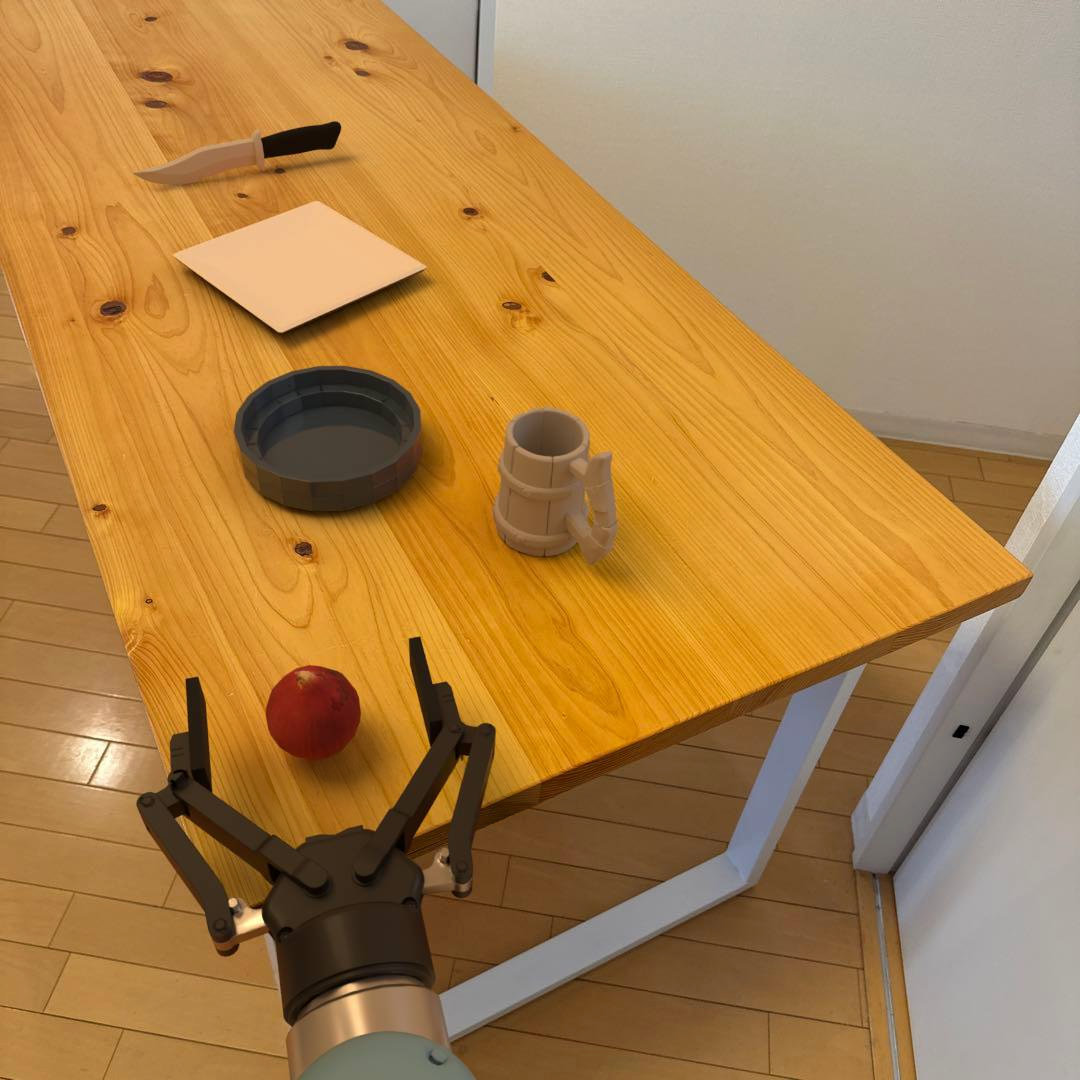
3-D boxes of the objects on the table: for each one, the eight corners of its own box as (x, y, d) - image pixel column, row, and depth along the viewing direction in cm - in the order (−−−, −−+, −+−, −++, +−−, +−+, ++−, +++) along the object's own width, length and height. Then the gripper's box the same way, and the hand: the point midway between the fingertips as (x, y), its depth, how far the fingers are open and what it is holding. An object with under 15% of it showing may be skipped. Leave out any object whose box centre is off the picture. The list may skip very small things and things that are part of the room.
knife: (139, 195, 116) (129, 153, 112) (135, 188, 117) (125, 146, 113) (345, 161, 125) (342, 121, 121) (340, 155, 126) (337, 115, 122)
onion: (334, 694, 69) (324, 619, 64) (380, 752, 66) (374, 679, 61) (258, 737, 66) (240, 664, 61) (303, 799, 63) (288, 728, 58)
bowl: (233, 521, 80) (225, 484, 77) (249, 403, 91) (243, 366, 88) (424, 515, 82) (423, 478, 79) (419, 400, 93) (418, 364, 90)
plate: (282, 349, 97) (279, 331, 95) (174, 270, 105) (170, 252, 104) (428, 282, 107) (427, 265, 105) (319, 215, 115) (317, 198, 114)
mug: (544, 481, 86) (555, 366, 77) (640, 562, 80) (663, 447, 71) (473, 518, 82) (476, 401, 74) (568, 606, 76) (583, 490, 68)
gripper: (111, 1106, 49) (112, 743, 63) (595, 973, 55) (497, 669, 69) (70, 1054, 44) (81, 670, 58) (611, 913, 50) (502, 597, 64)
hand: (308, 669), depth 63 cm, fingers open, 13 cm apart
